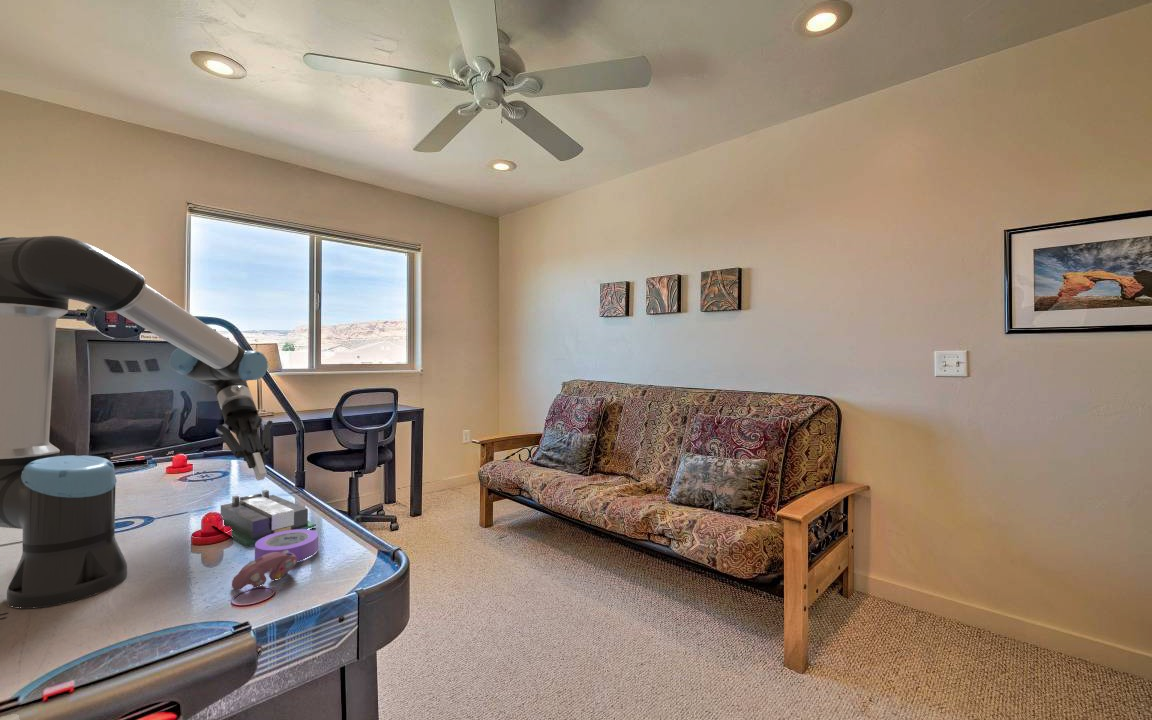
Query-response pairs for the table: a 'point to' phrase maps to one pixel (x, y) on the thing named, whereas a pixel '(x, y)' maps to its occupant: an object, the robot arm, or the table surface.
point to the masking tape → (289, 543)
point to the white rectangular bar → (270, 510)
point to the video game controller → (264, 569)
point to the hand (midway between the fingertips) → (261, 476)
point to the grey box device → (259, 519)
